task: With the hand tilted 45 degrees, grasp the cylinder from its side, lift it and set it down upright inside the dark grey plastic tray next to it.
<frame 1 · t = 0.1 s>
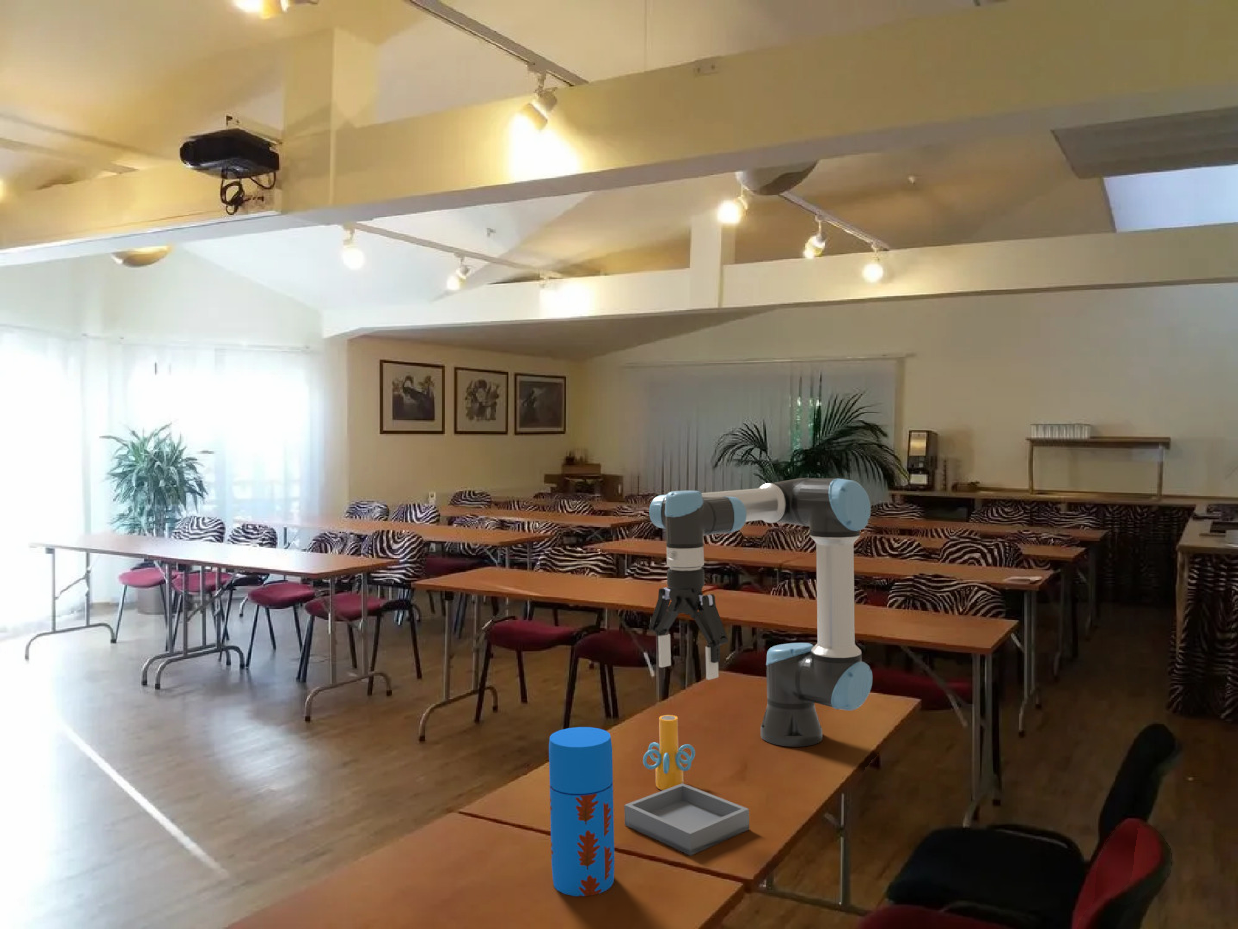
hand: (688, 672, 186), 28 cm above the table, tool pointing down, fingers open, 13 cm apart
tray: (686, 827, 178), on the table
thermos: (583, 882, 158), on the table
cylinder: (669, 787, 199), on the table
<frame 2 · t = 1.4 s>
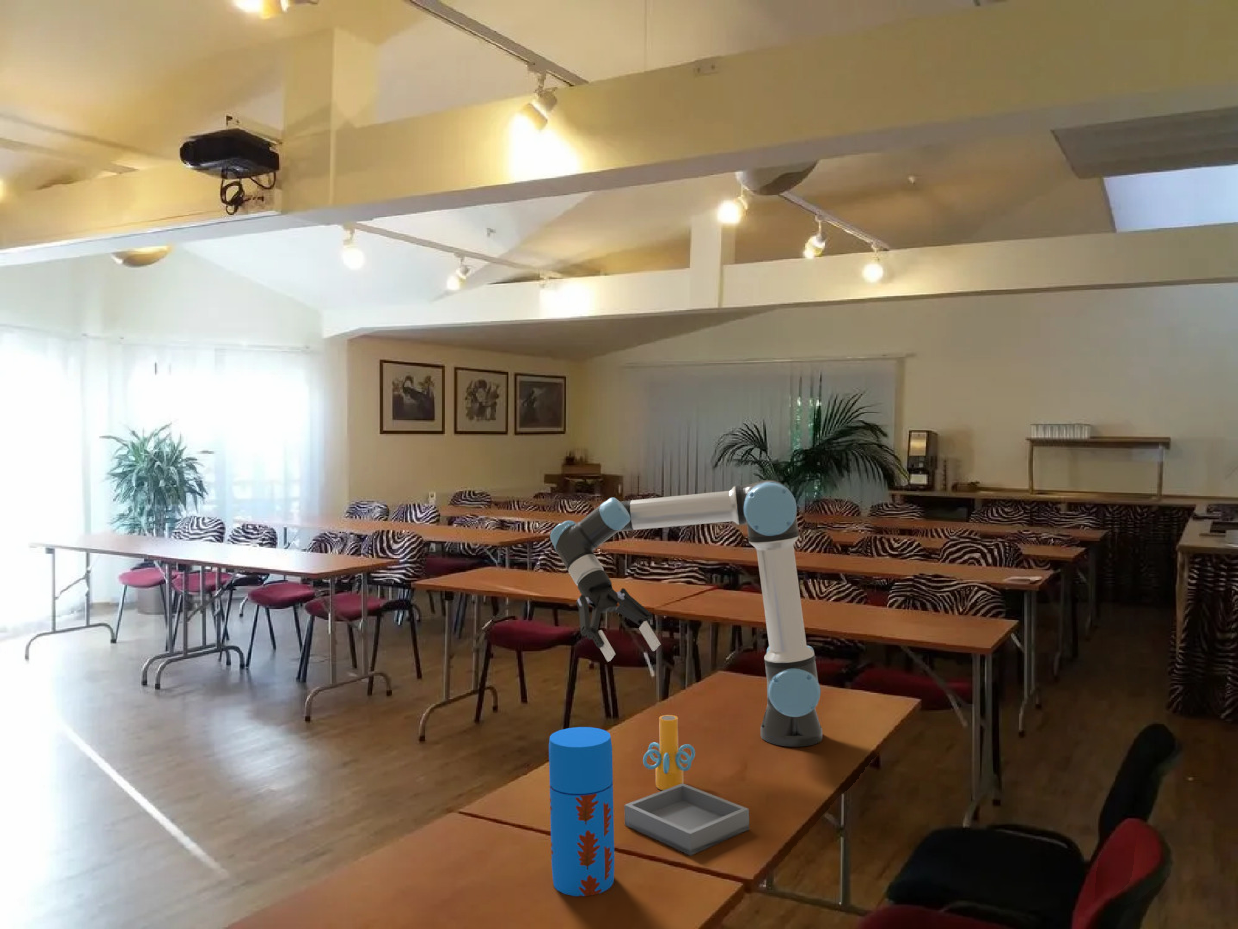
hand: (634, 652, 206), 27 cm above the table, tool tilted 45°, fingers open, 13 cm apart
nothing on the table moved.
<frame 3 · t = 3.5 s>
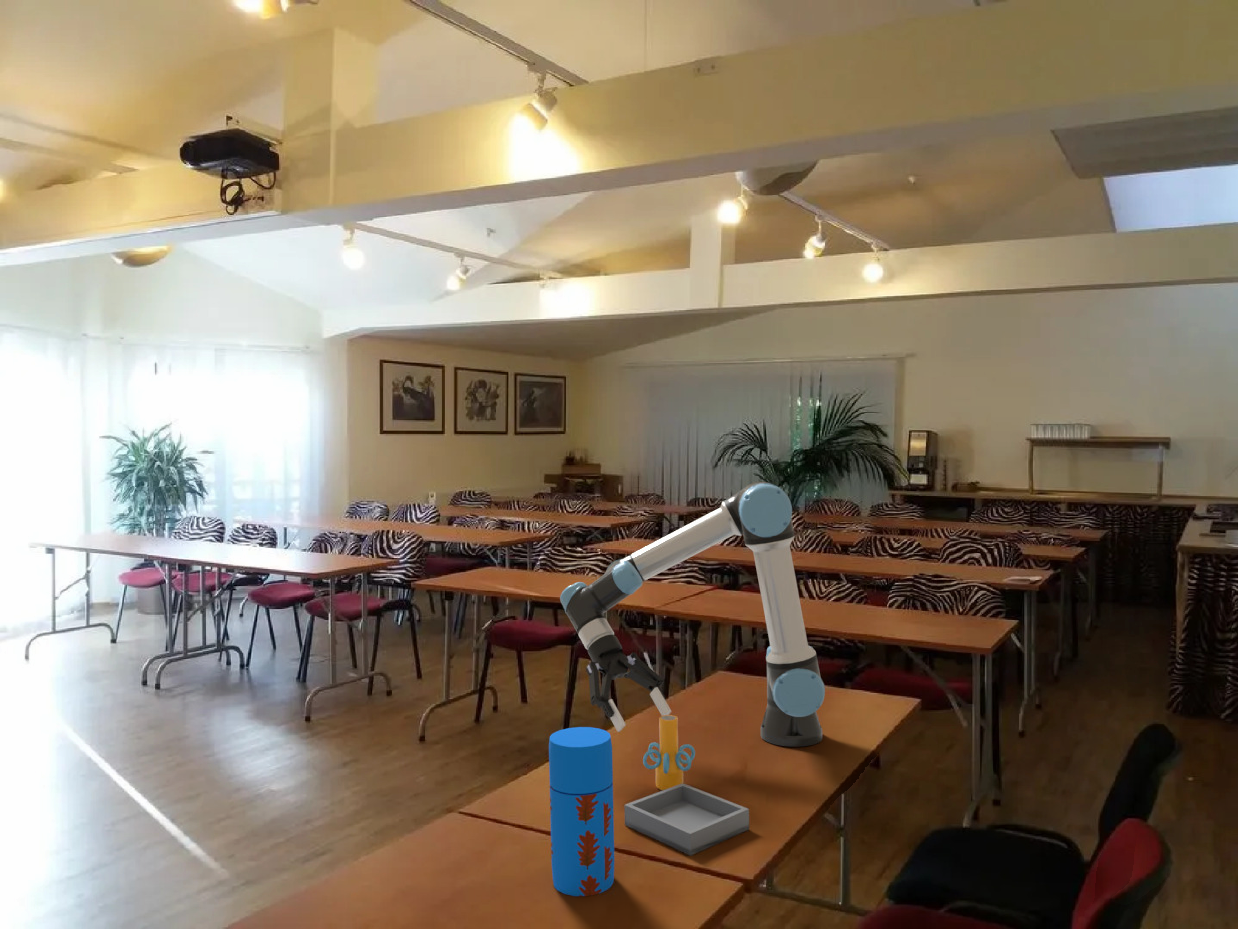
hand: (645, 721, 203), 13 cm above the table, tool tilted 45°, fingers open, 13 cm apart
nothing on the table moved.
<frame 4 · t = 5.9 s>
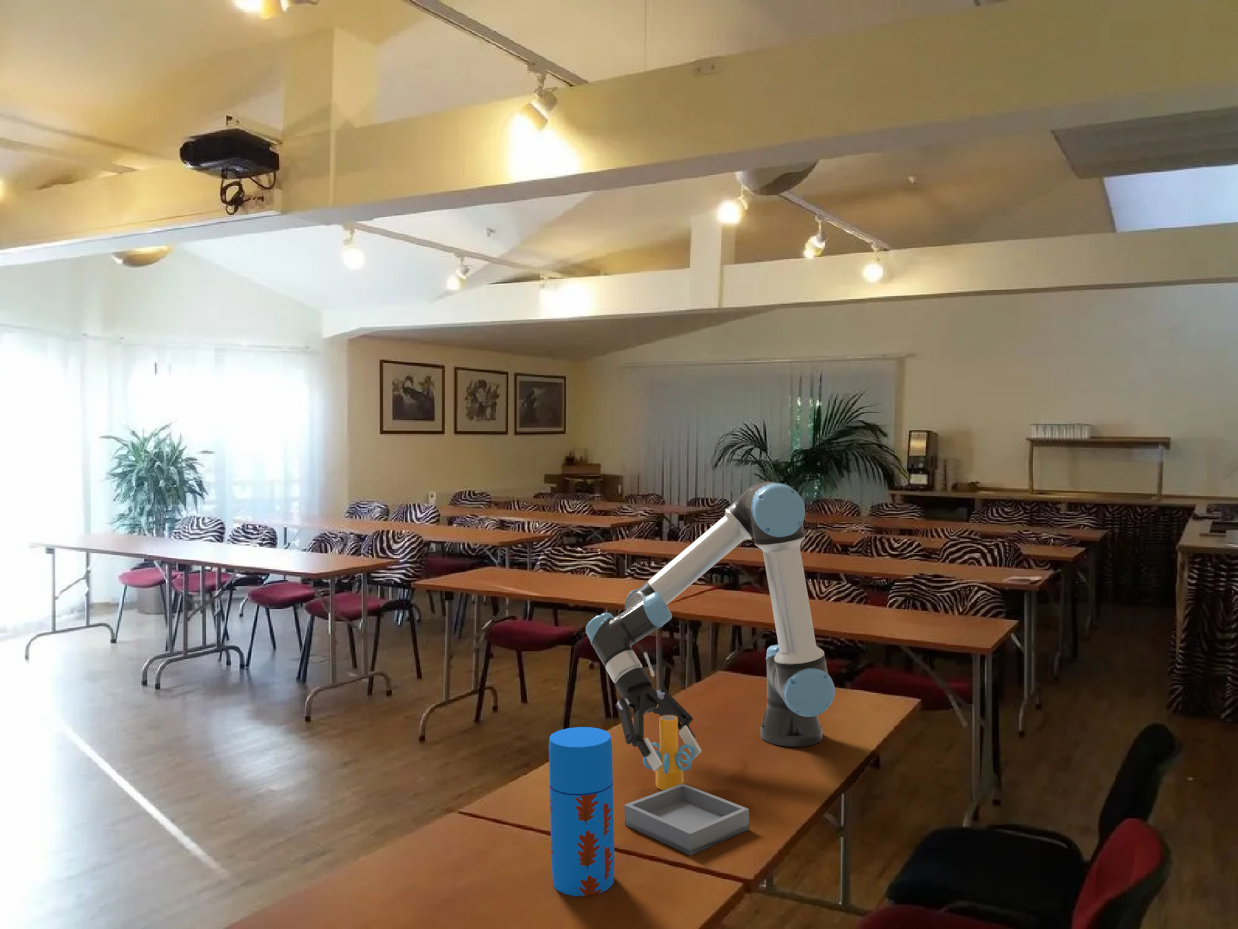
hand: (678, 761, 197), 6 cm above the table, tool tilted 45°, fingers closed on cylinder, 11 cm apart
cylinder: (669, 787, 199), on the table, touching gripper
everything else where it was.
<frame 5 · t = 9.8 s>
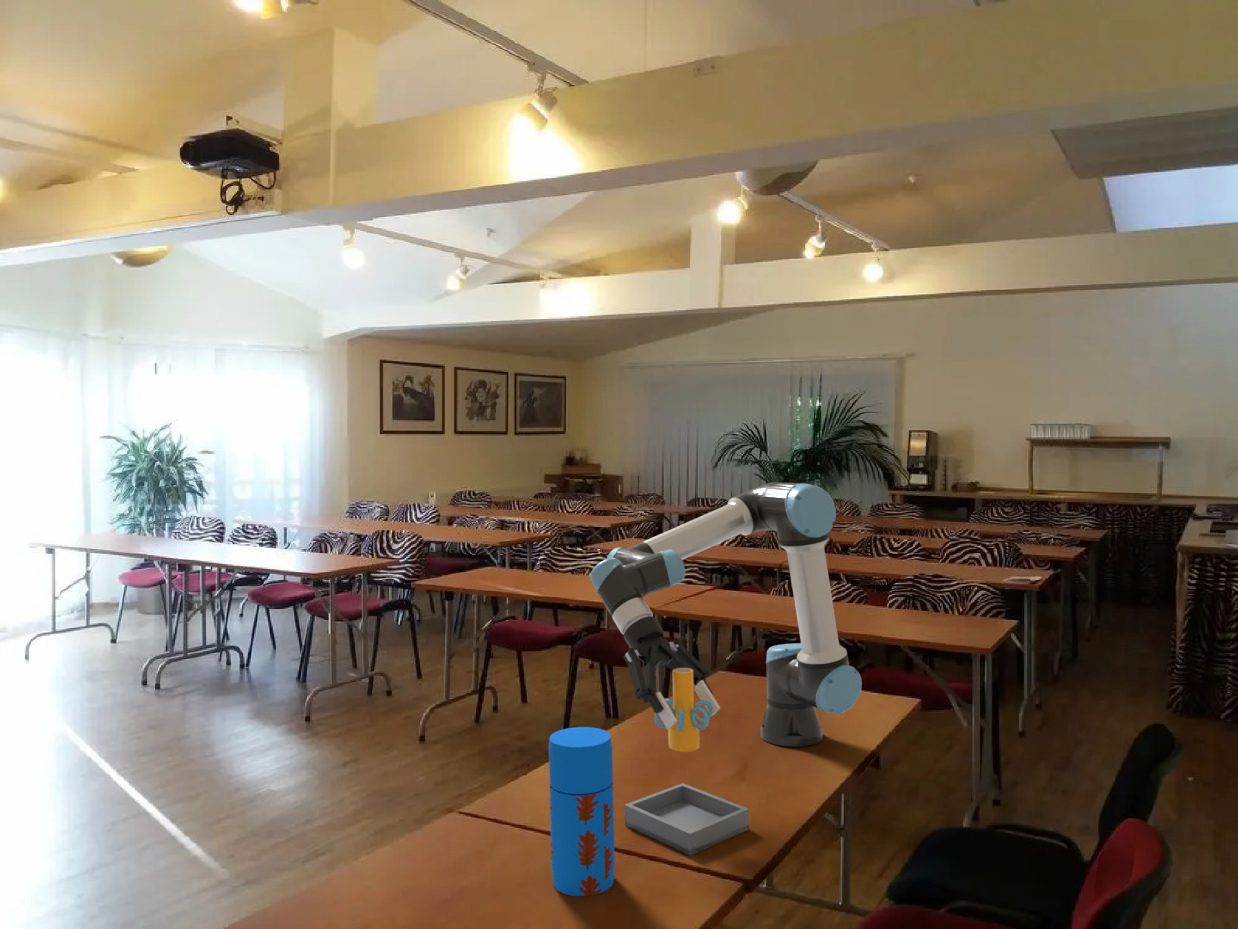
hand: (694, 718, 176), 22 cm above the table, tool tilted 45°, fingers closed on cylinder, 11 cm apart
cylinder: (684, 748, 178), point 15 cm above the table, touching gripper
everything else where it was.
when the fingers open (9 cm above the table, at t = 13.8 s): cylinder drops 1 cm, resting on tray.
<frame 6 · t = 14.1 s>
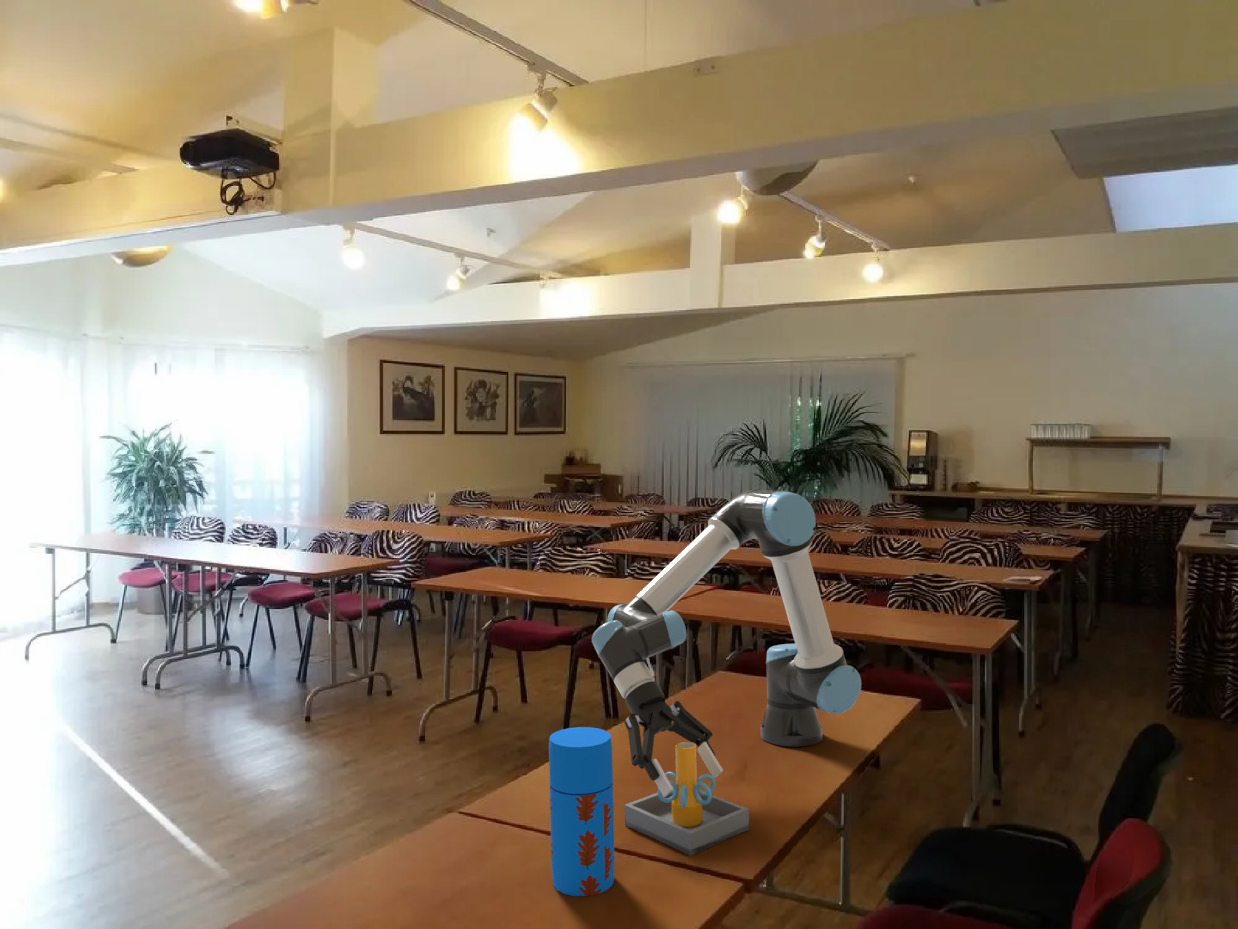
hand: (694, 784, 176), 9 cm above the table, tool tilted 45°, fingers open, 13 cm apart
cylinder: (687, 822, 179), point 1 cm above the table, touching tray
everything else where it was.
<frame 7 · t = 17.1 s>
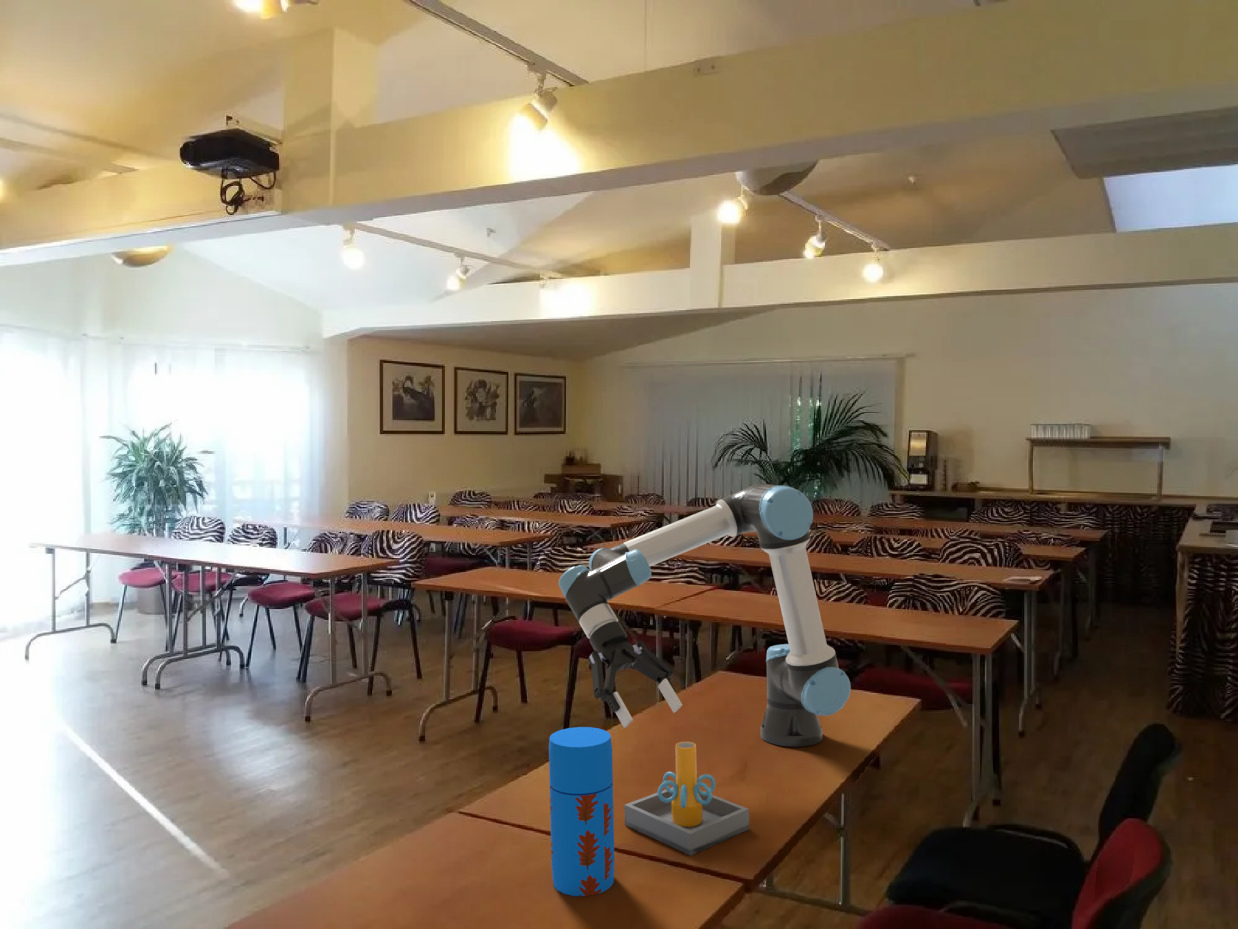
hand: (654, 716, 184), 20 cm above the table, tool tilted 45°, fingers open, 13 cm apart
nothing on the table moved.
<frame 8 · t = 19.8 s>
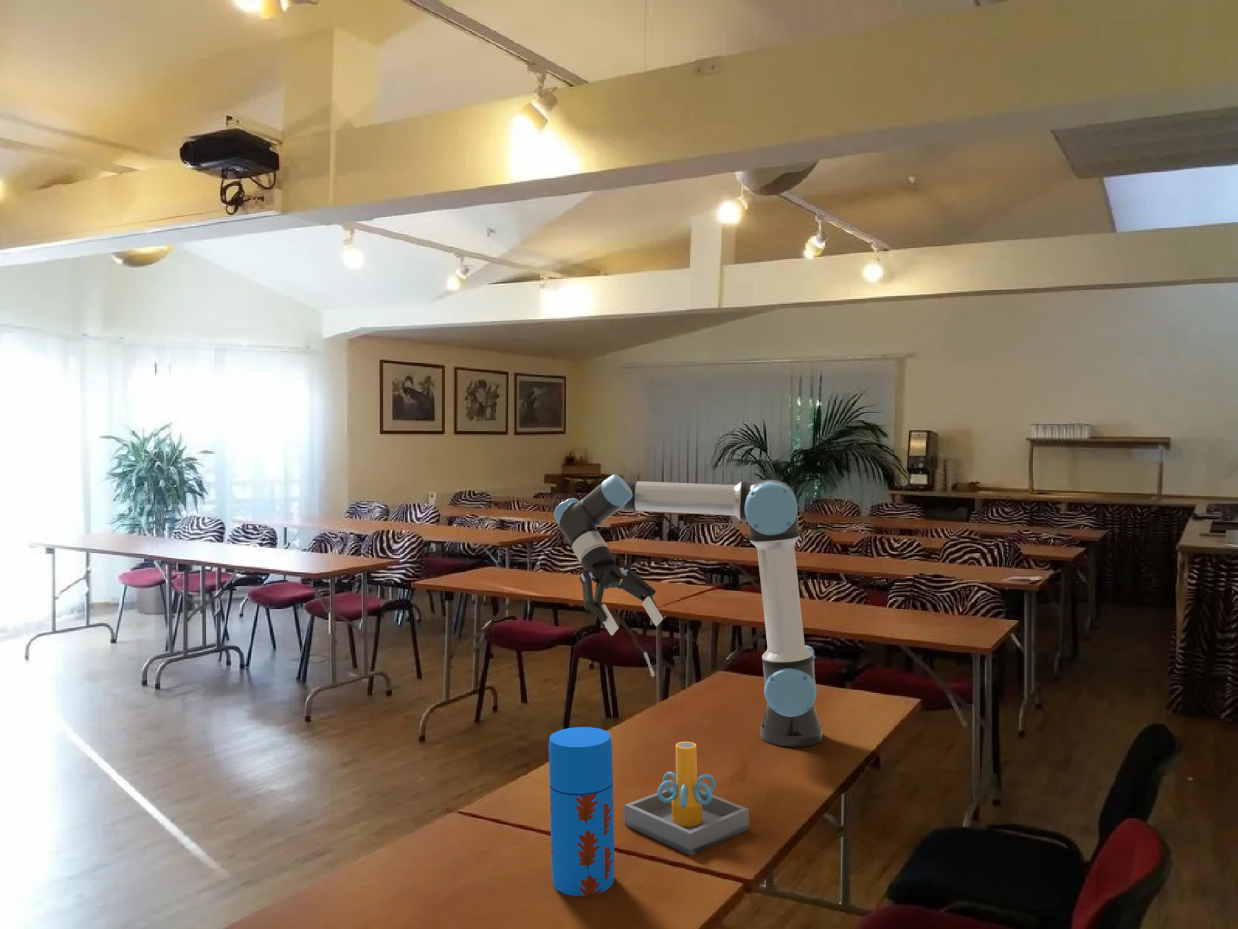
hand: (637, 627, 208), 33 cm above the table, tool tilted 45°, fingers open, 13 cm apart
nothing on the table moved.
at the end: cylinder inside the target area on the tray (0.4 cm from its centre), point 0.8 cm above the tray's base; cylinder tilted 0°; the gripper is holding nothing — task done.
